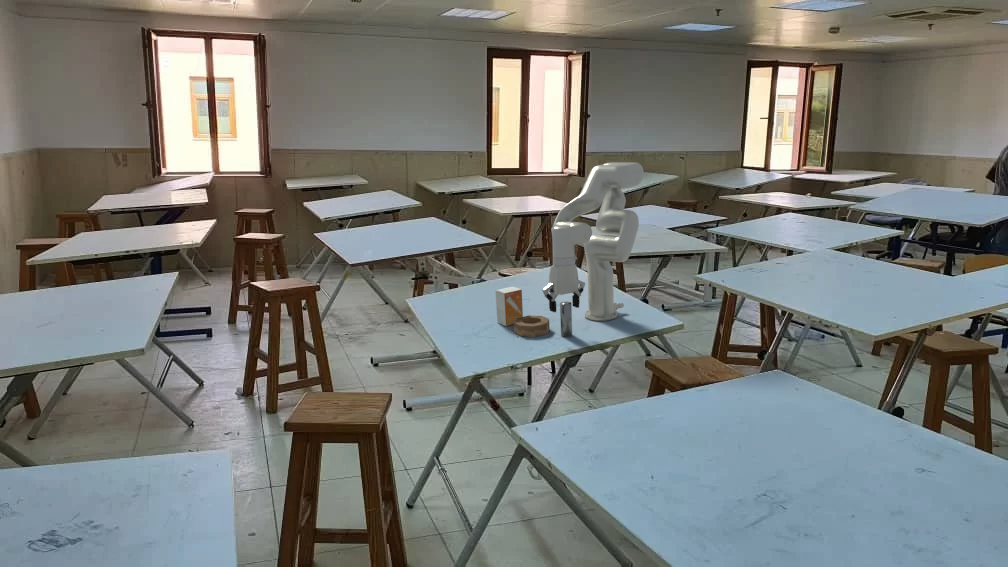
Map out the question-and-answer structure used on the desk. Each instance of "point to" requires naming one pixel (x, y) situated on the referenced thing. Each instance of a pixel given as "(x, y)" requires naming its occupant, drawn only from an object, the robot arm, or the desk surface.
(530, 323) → the brown octagonal ring
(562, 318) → the peg
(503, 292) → the small box
